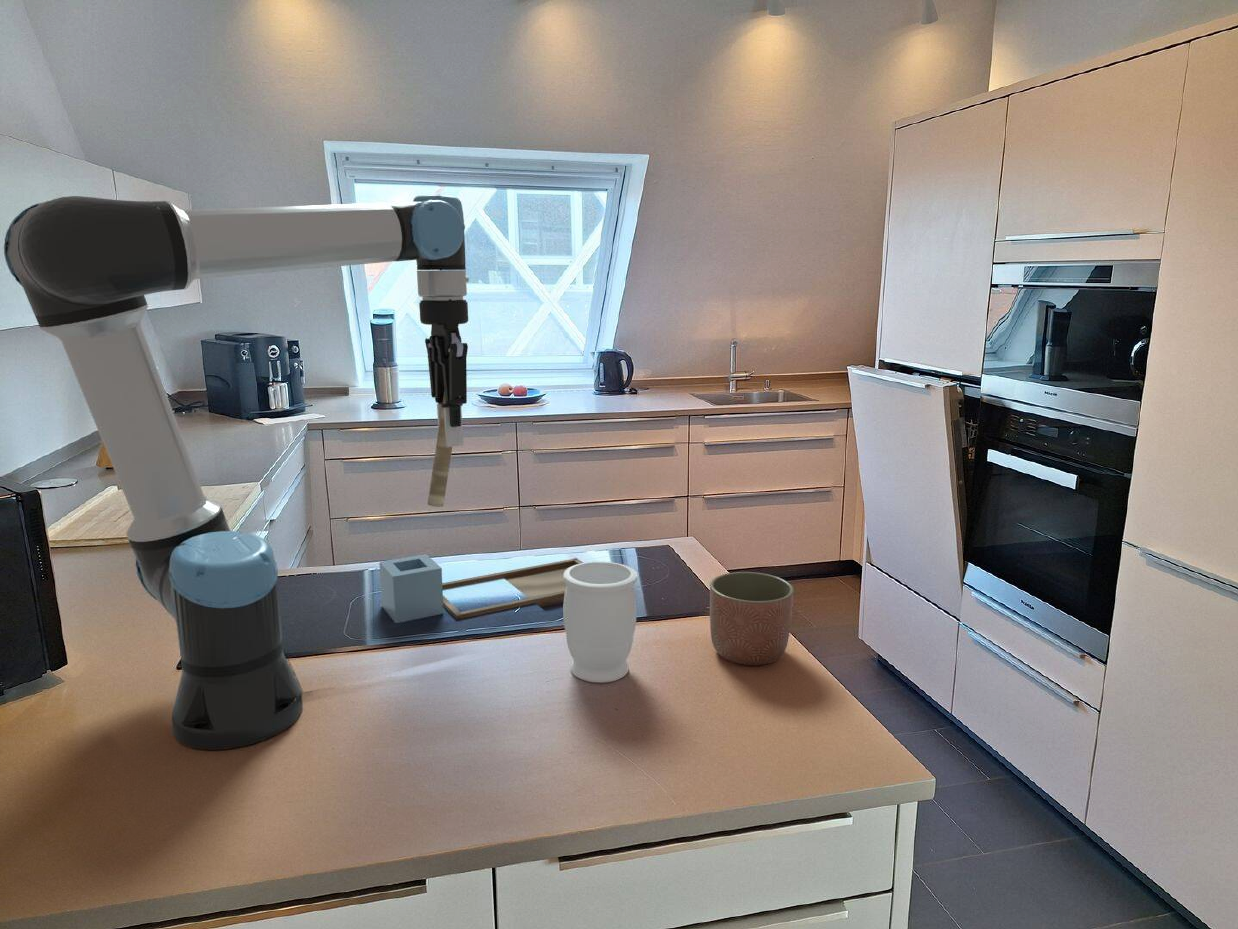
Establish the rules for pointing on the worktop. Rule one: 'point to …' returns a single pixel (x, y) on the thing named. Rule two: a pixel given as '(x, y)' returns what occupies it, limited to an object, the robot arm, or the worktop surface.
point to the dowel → (440, 466)
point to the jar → (599, 619)
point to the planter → (750, 616)
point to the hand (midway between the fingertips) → (451, 443)
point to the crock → (411, 588)
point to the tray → (521, 587)
